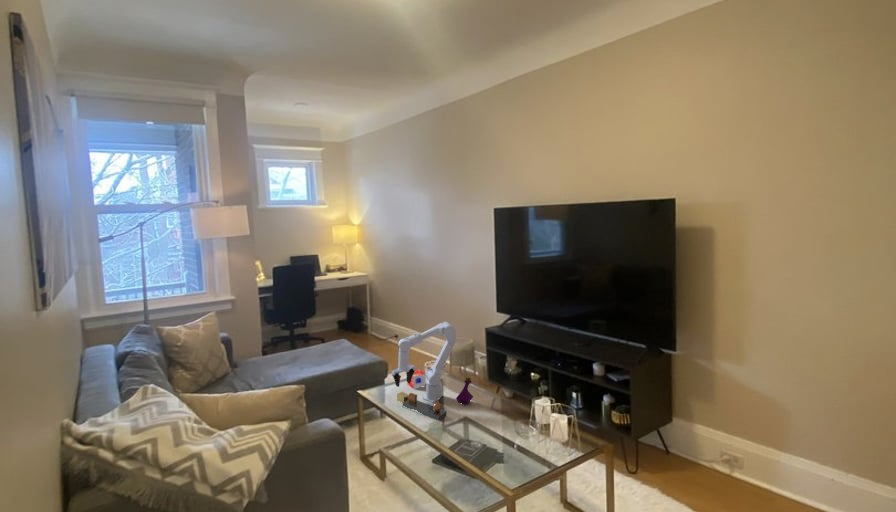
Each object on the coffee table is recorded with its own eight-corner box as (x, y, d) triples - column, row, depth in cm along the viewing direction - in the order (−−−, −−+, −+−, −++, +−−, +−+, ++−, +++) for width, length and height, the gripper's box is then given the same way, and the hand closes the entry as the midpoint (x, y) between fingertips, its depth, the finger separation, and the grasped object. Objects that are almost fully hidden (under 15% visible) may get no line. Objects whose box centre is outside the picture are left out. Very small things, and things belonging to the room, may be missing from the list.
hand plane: (410, 402, 260) (411, 390, 259) (446, 415, 246) (447, 403, 245) (402, 406, 254) (403, 394, 253) (438, 420, 240) (439, 407, 239)
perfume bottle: (473, 401, 263) (474, 371, 261) (467, 407, 257) (469, 375, 254) (460, 398, 266) (462, 368, 264) (455, 404, 260) (456, 373, 257)
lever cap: (402, 398, 264) (402, 391, 264) (409, 402, 260) (409, 395, 259) (396, 400, 261) (397, 393, 261) (403, 404, 257) (403, 397, 257)
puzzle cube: (418, 381, 288) (419, 369, 286) (425, 386, 281) (425, 374, 280) (407, 384, 283) (407, 371, 282) (413, 389, 277) (413, 376, 276)
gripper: (397, 365, 250) (396, 390, 252) (418, 359, 260) (417, 383, 262) (389, 362, 255) (389, 385, 257) (410, 356, 265) (409, 379, 267)
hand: (403, 384), depth 260 cm, fingers open, 7 cm apart
